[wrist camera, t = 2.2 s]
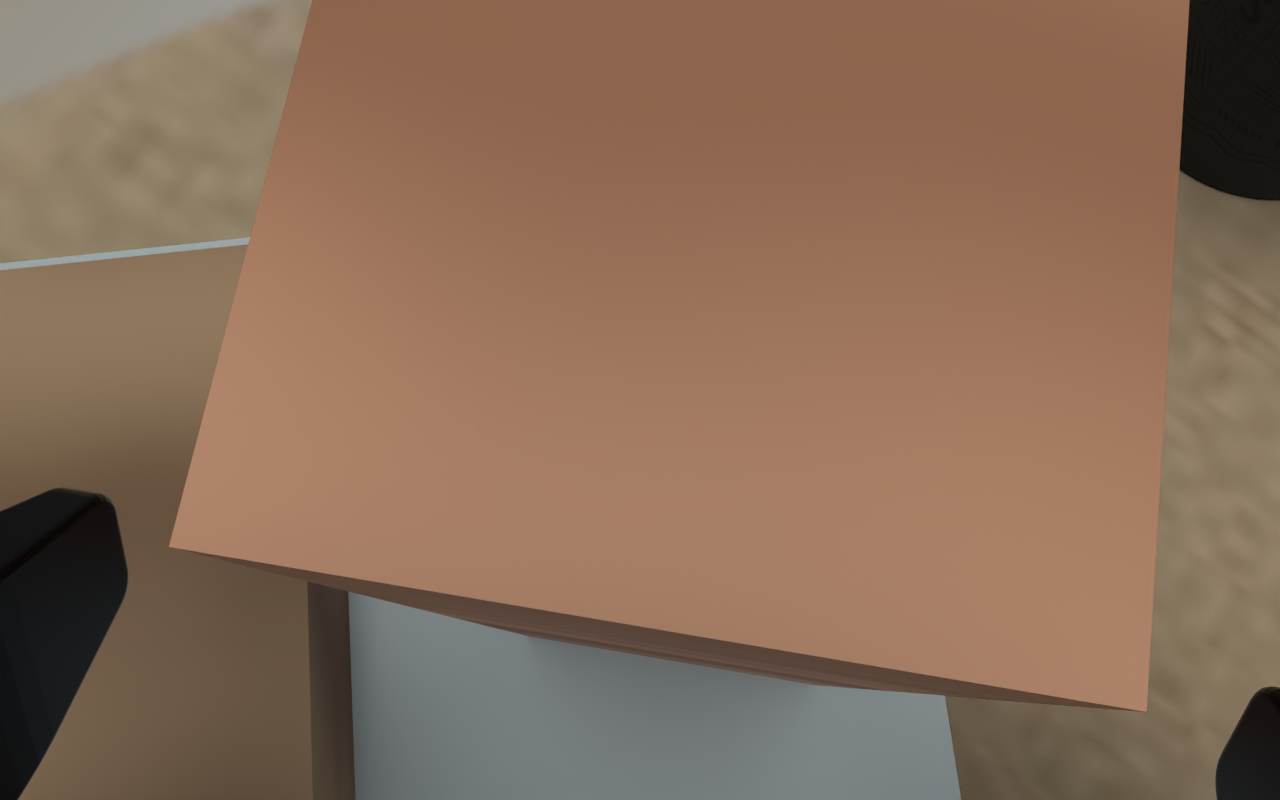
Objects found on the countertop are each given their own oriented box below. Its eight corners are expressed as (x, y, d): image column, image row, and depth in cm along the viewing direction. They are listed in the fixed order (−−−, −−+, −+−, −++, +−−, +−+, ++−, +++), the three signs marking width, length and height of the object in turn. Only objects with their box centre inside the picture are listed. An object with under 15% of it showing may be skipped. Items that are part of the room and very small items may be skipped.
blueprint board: (976, 996, 17) (995, 1015, 16) (-204, 1109, 17) (-258, 1135, 16) (854, 197, 20) (863, 173, 19) (-144, 301, 20) (-185, 283, 19)
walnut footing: (357, 851, 17) (314, 875, 15) (-239, 910, 17) (-358, 941, 15) (337, 283, 19) (298, 238, 17) (-190, 338, 19) (-289, 299, 17)
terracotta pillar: (816, 685, 17) (1145, 711, 5) (526, 635, 17) (168, 545, 5) (851, 401, 18) (1199, -156, 6) (577, 359, 18) (377, -248, 6)
